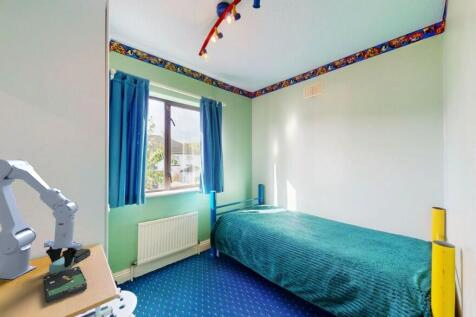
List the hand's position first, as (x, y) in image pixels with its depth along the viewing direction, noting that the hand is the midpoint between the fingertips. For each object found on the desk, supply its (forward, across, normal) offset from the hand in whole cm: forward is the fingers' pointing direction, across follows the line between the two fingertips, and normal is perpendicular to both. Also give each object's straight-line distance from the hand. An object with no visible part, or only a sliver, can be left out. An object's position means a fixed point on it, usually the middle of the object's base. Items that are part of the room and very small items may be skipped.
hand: (61, 265), depth 78 cm
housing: (+1, 0, 0) cm, 1 cm away
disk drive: (+2, +10, -9) cm, 14 cm away
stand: (+1, -2, +9) cm, 9 cm away
